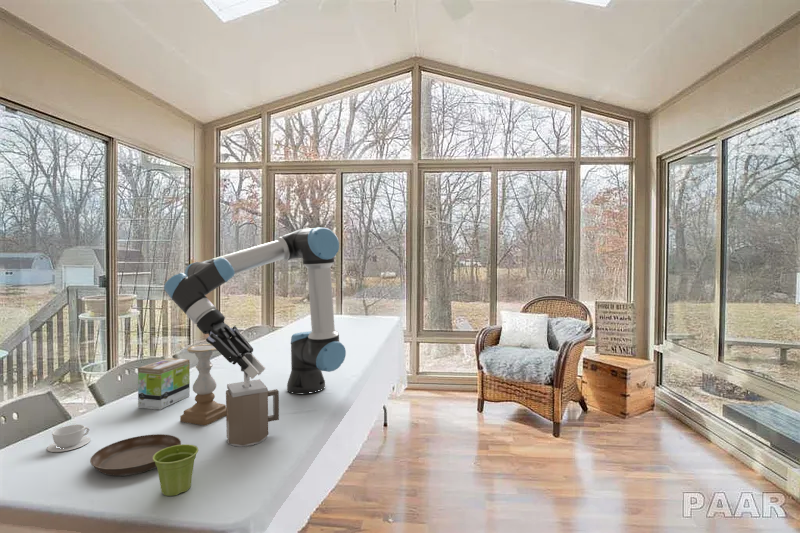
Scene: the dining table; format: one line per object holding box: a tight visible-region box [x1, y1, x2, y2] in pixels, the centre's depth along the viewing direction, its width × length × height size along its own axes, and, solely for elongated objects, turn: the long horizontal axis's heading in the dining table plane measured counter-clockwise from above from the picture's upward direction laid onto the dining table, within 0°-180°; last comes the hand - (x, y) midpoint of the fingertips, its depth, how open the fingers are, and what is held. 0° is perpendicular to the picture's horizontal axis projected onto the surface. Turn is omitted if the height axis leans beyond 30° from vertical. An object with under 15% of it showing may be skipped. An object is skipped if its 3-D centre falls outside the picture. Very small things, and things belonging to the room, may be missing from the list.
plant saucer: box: [89, 433, 182, 477], centre depth 115 cm, size 21×21×3 cm
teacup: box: [46, 424, 91, 453], centre depth 124 cm, size 10×10×5 cm
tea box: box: [137, 357, 191, 411], centre depth 159 cm, size 15×10×15 cm, turn 168°
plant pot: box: [153, 443, 199, 497], centre depth 101 cm, size 9×9×9 cm
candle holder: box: [179, 343, 226, 426], centre depth 144 cm, size 11×11×24 cm
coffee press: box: [225, 378, 280, 447], centre depth 129 cm, size 15×11×16 cm
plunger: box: [240, 352, 253, 396], centre depth 128 cm, size 9×9×22 cm
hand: (258, 373), depth 127 cm, fingers closed on plunger, 3 cm apart
